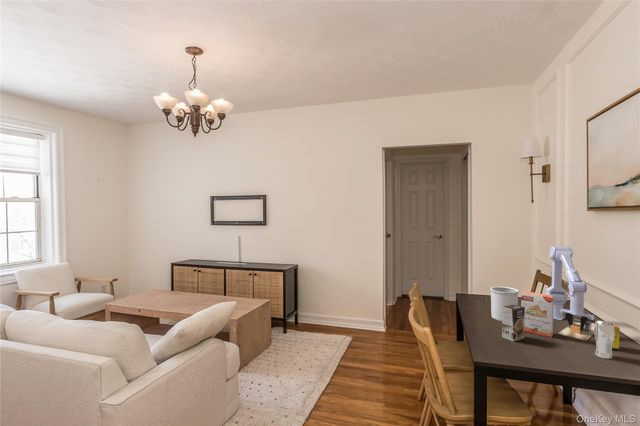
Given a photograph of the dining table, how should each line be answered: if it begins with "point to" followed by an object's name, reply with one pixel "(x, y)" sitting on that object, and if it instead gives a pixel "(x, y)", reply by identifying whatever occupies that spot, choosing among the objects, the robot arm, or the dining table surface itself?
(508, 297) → the utensil holder
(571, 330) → the plug
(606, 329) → the beer glass
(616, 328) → the supplement box
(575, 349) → the dining table surface
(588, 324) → the housing
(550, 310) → the cracker box
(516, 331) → the coffee box
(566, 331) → the board
